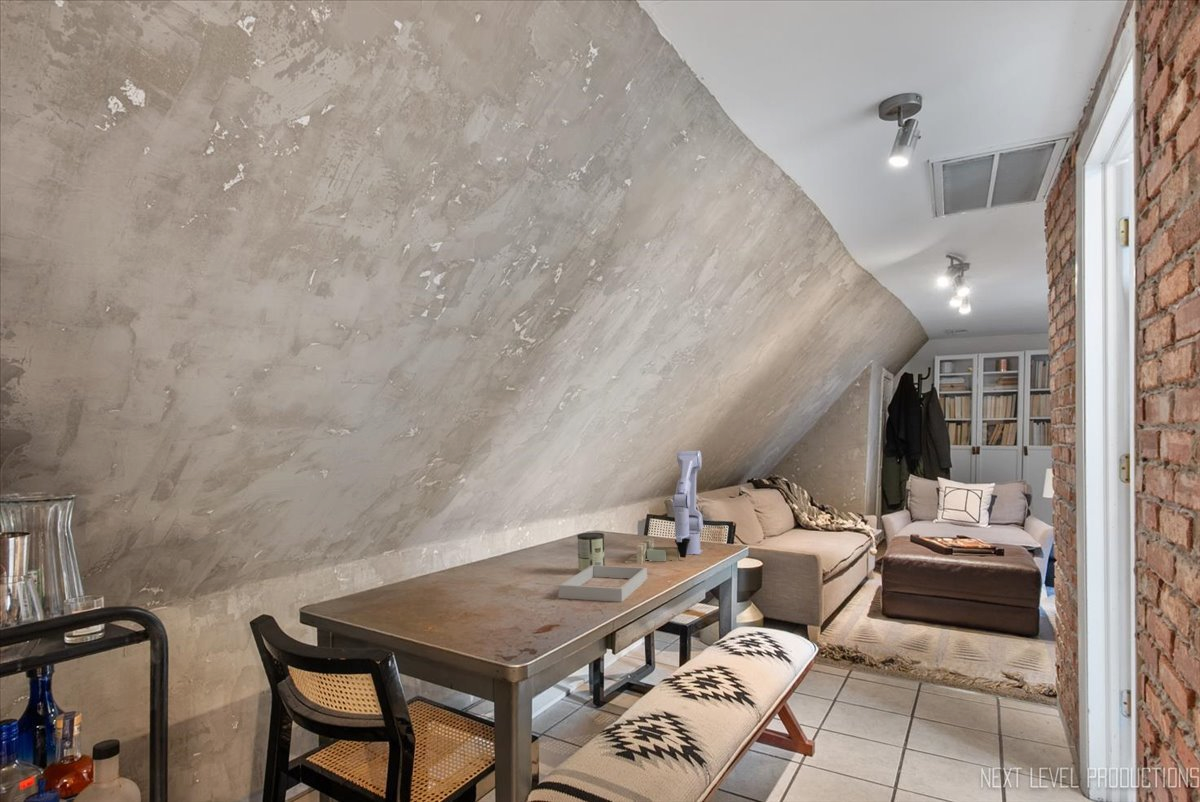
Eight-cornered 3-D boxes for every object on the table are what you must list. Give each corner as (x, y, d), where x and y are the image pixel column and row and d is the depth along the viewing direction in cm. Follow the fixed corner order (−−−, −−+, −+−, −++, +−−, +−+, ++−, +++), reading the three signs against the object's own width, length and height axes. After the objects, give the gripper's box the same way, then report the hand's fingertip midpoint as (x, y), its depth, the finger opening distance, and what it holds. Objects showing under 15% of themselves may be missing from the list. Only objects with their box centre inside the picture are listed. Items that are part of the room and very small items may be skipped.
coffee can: (587, 568, 246) (586, 531, 247) (610, 570, 241) (609, 533, 242) (572, 573, 238) (571, 535, 238) (595, 576, 232) (594, 537, 233)
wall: (638, 554, 273) (637, 537, 273) (653, 554, 270) (653, 538, 271) (625, 563, 254) (624, 545, 254) (641, 564, 251) (641, 546, 252)
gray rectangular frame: (591, 576, 232) (591, 565, 232) (647, 579, 225) (647, 567, 225) (558, 597, 201) (558, 585, 202) (621, 601, 195) (621, 588, 195)
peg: (655, 558, 262) (655, 546, 262) (679, 559, 259) (679, 547, 259) (653, 560, 258) (653, 548, 259) (677, 561, 255) (677, 548, 255)
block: (652, 557, 265) (651, 546, 265) (669, 557, 263) (669, 546, 263) (647, 561, 257) (646, 550, 257) (665, 561, 254) (664, 550, 254)
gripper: (688, 526, 249) (689, 561, 248) (694, 521, 263) (695, 554, 262) (670, 525, 251) (671, 560, 251) (678, 520, 265) (679, 553, 264)
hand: (683, 557), depth 256 cm, fingers closed, pressing on peg
